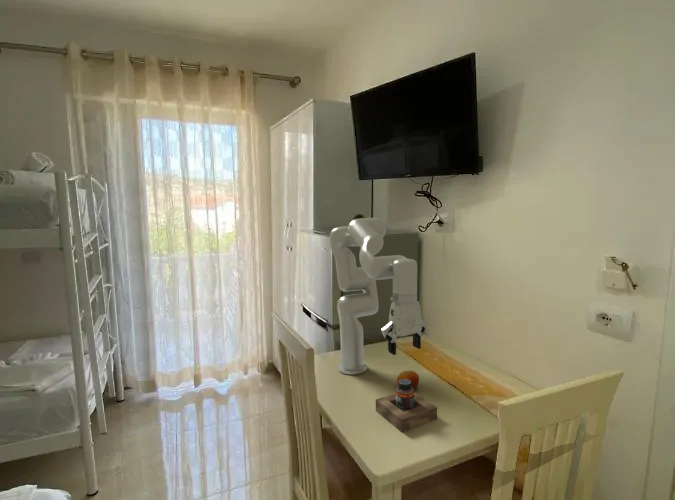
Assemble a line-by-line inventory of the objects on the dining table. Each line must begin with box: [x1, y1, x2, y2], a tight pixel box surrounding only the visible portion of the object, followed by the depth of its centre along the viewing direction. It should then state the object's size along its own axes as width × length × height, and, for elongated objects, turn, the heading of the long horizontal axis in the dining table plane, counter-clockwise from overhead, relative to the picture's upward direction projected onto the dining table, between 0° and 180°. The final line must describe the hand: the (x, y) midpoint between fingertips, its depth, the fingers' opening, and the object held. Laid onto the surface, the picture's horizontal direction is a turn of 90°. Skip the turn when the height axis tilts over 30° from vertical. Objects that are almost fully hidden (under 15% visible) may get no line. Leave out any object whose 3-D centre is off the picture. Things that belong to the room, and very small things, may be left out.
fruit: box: [396, 370, 420, 392], centre depth 140 cm, size 8×8×8 cm
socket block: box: [375, 392, 438, 433], centre depth 123 cm, size 14×14×4 cm
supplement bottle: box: [395, 379, 415, 412], centre depth 122 cm, size 6×6×11 cm
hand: (404, 350), depth 121 cm, fingers open, 9 cm apart
